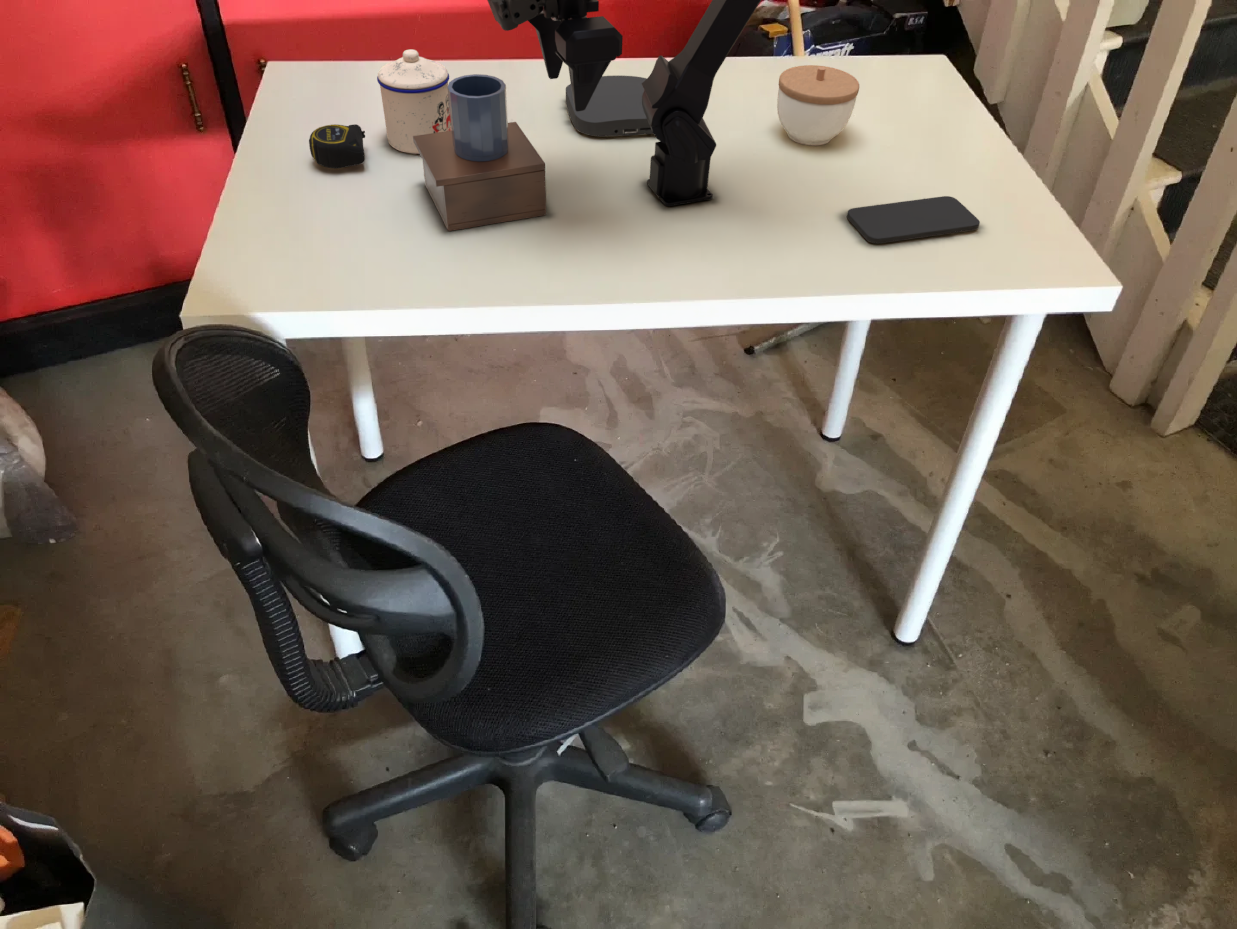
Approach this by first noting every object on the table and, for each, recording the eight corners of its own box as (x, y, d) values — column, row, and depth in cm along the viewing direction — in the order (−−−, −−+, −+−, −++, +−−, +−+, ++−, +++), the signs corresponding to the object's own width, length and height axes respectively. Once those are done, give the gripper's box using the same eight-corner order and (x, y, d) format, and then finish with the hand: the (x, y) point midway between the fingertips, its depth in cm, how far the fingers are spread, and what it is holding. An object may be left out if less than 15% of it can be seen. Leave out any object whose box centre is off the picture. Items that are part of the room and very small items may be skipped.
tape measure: (367, 172, 119) (362, 144, 116) (311, 175, 118) (305, 147, 115) (367, 148, 124) (363, 120, 121) (314, 150, 123) (308, 122, 120)
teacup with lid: (449, 157, 122) (440, 67, 114) (379, 154, 122) (366, 64, 114) (462, 117, 131) (455, 31, 123) (397, 114, 131) (386, 28, 123)
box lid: (436, 186, 105) (435, 180, 105) (413, 142, 113) (412, 135, 112) (545, 169, 109) (545, 163, 108) (516, 127, 116) (515, 121, 116)
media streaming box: (561, 96, 137) (561, 75, 135) (658, 91, 140) (659, 71, 138) (577, 140, 127) (577, 119, 125) (681, 135, 130) (683, 114, 127)
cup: (499, 133, 113) (496, 71, 108) (515, 157, 109) (512, 93, 104) (448, 140, 111) (441, 77, 106) (461, 165, 107) (455, 100, 102)
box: (448, 231, 109) (443, 185, 105) (425, 185, 117) (420, 141, 113) (546, 215, 113) (545, 170, 109) (518, 171, 120) (516, 127, 116)
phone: (844, 208, 115) (952, 194, 118) (842, 214, 115) (950, 200, 118) (871, 240, 110) (984, 224, 113) (870, 246, 110) (982, 230, 113)
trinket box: (862, 147, 129) (878, 78, 122) (794, 158, 126) (806, 88, 119) (822, 114, 136) (835, 48, 129) (757, 124, 133) (767, 57, 126)
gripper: (465, -77, 100) (475, 70, 111) (517, -21, 88) (523, 138, 99) (564, -84, 103) (564, 60, 114) (627, -31, 91) (621, 124, 102)
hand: (566, 93), depth 107 cm, fingers open, 9 cm apart
